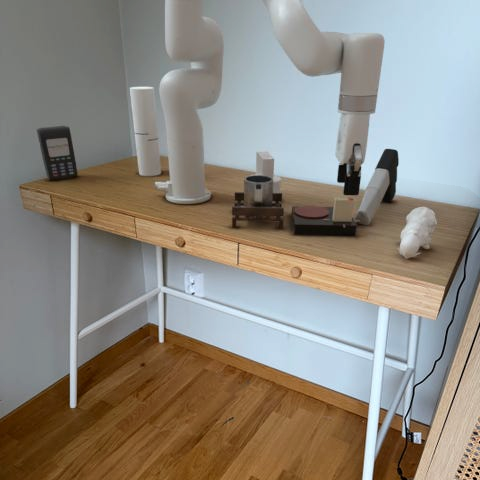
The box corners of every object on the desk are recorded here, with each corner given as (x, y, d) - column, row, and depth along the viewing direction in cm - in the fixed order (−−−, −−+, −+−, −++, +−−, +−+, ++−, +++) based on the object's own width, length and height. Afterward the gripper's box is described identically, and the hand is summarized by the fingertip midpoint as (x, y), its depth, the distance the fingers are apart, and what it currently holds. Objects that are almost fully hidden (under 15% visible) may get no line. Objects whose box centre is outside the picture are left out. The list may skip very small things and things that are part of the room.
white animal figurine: (441, 206, 96) (428, 229, 88) (433, 243, 102) (419, 268, 93) (411, 201, 99) (395, 223, 91) (404, 237, 104) (388, 261, 96)
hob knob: (333, 221, 106) (335, 199, 104) (332, 219, 108) (334, 196, 105) (351, 221, 106) (354, 199, 103) (350, 219, 108) (353, 197, 105)
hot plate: (295, 217, 108) (295, 216, 108) (293, 206, 115) (293, 205, 115) (331, 218, 108) (331, 217, 108) (326, 206, 115) (327, 205, 115)
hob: (294, 236, 105) (295, 225, 104) (291, 215, 117) (291, 205, 116) (361, 238, 105) (363, 227, 103) (351, 216, 117) (352, 206, 115)
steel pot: (243, 213, 109) (243, 184, 105) (244, 201, 117) (245, 173, 113) (272, 214, 109) (273, 184, 105) (271, 202, 117) (272, 174, 113)
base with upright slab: (283, 204, 124) (286, 158, 118) (250, 206, 123) (251, 159, 117) (275, 194, 132) (277, 150, 125) (244, 195, 131) (245, 151, 124)
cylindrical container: (139, 170, 153) (130, 86, 140) (161, 170, 154) (154, 86, 141) (138, 176, 147) (128, 89, 134) (160, 175, 148) (153, 89, 135)
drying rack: (232, 227, 110) (232, 207, 107) (234, 211, 120) (234, 191, 117) (282, 228, 109) (283, 208, 106) (281, 212, 119) (282, 192, 117)
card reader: (49, 182, 141) (38, 129, 133) (45, 179, 144) (34, 127, 136) (79, 177, 145) (70, 127, 137) (75, 174, 148) (66, 124, 140)
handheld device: (397, 192, 127) (399, 147, 115) (370, 252, 119) (369, 211, 107) (383, 189, 129) (384, 145, 117) (355, 249, 121) (353, 208, 108)
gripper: (333, 99, 101) (325, 178, 110) (345, 110, 87) (335, 200, 96) (367, 99, 101) (357, 178, 110) (385, 110, 86) (372, 200, 95)
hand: (347, 188), depth 103 cm, fingers open, 9 cm apart
